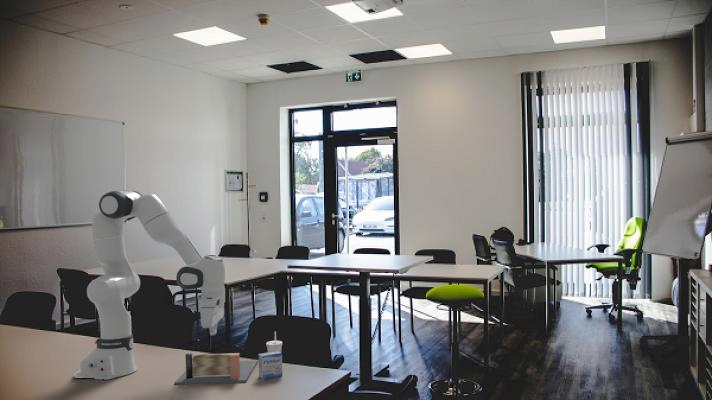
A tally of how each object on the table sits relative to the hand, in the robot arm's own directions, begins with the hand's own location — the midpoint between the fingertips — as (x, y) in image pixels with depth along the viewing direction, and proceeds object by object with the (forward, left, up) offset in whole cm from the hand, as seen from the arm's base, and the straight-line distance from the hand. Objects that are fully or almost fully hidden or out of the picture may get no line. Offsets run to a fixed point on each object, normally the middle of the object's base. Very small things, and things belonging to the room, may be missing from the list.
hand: (213, 334), depth 209 cm
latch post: (+10, -9, -15) cm, 20 cm away
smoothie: (+23, +5, -15) cm, 28 cm away
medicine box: (+23, -6, -15) cm, 28 cm away
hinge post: (-7, -7, -15) cm, 18 cm away
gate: (+3, -7, -13) cm, 15 cm away
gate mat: (+2, 0, -15) cm, 15 cm away
